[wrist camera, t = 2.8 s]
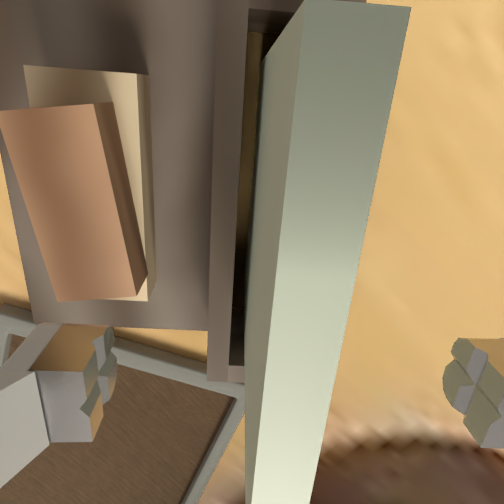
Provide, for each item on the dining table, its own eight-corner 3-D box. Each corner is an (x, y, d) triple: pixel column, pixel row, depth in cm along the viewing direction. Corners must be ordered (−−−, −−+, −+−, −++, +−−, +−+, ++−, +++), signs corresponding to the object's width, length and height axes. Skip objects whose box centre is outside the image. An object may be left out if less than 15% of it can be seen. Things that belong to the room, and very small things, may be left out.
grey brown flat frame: (258, 388, 28) (149, 593, 39) (257, 373, 29) (153, 574, 40) (-7, 310, 25) (-44, 558, 36) (7, 298, 26) (-33, 539, 37)
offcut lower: (149, 75, 19) (136, 73, 17) (156, 280, 24) (147, 301, 22) (49, 67, 19) (23, 64, 17) (77, 277, 24) (60, 297, 21)
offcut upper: (113, 101, 17) (93, 103, 15) (148, 273, 21) (136, 296, 19) (27, 108, 17) (-6, 111, 15) (77, 278, 21) (57, 301, 19)
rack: (333, 11, 19) (369, -20, 14) (291, 324, 27) (303, 384, 21) (-19, -20, 18) (-131, -67, 13) (42, 313, 26) (-11, 373, 21)
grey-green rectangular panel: (289, 66, 20) (410, 7, 6) (266, 290, 26) (298, 554, 11) (259, 64, 20) (305, -3, 5) (243, 289, 26) (245, 553, 11)
